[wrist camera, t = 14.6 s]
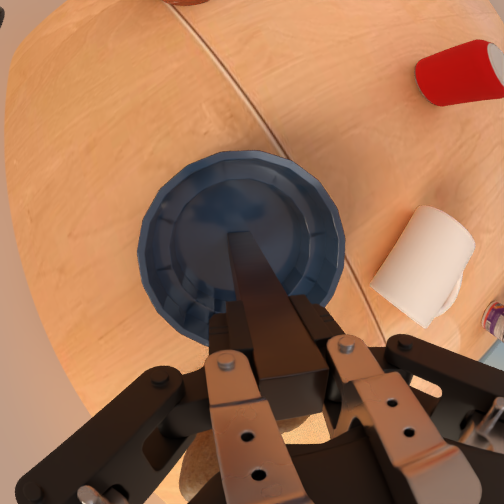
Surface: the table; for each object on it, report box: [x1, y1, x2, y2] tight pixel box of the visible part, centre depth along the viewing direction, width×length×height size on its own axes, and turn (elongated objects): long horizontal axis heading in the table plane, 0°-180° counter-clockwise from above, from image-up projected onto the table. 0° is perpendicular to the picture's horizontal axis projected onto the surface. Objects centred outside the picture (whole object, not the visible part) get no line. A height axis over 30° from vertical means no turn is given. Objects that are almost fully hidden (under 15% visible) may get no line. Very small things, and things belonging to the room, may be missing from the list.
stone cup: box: [179, 415, 310, 502], centre depth 24 cm, size 15×12×15 cm
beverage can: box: [414, 40, 504, 106], centre depth 17 cm, size 6×6×12 cm
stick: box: [227, 232, 330, 421], centre depth 16 cm, size 2×2×18 cm
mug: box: [370, 205, 475, 328], centre depth 25 cm, size 12×10×8 cm
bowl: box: [137, 150, 345, 347], centre depth 22 cm, size 15×15×6 cm
